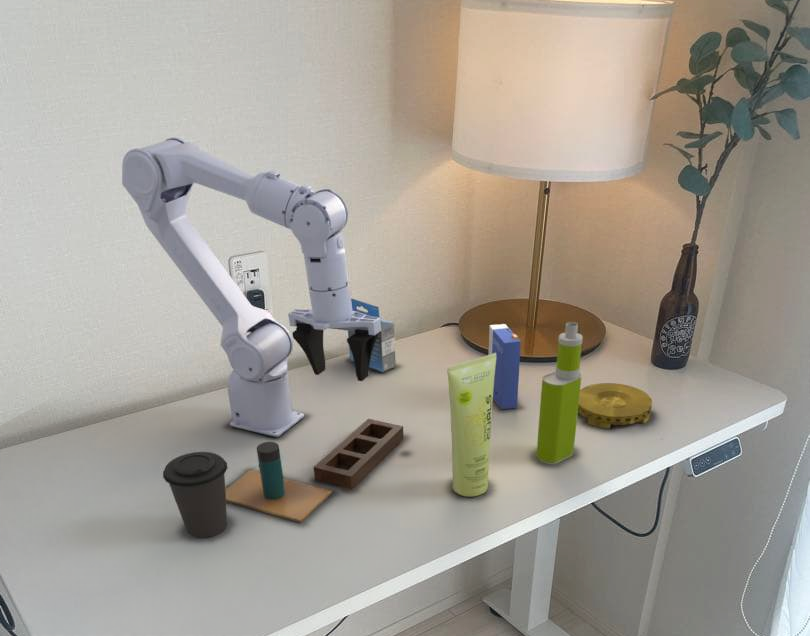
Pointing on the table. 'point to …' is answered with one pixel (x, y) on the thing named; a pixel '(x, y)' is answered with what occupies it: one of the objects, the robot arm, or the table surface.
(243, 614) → the table surface
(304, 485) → the cork mat
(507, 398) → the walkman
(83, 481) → the table surface
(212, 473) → the coffee cup
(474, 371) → the tube
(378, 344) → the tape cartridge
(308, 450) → the table surface
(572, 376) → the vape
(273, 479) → the teal capped bottle
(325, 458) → the pen stand
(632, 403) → the yellow flat disc
